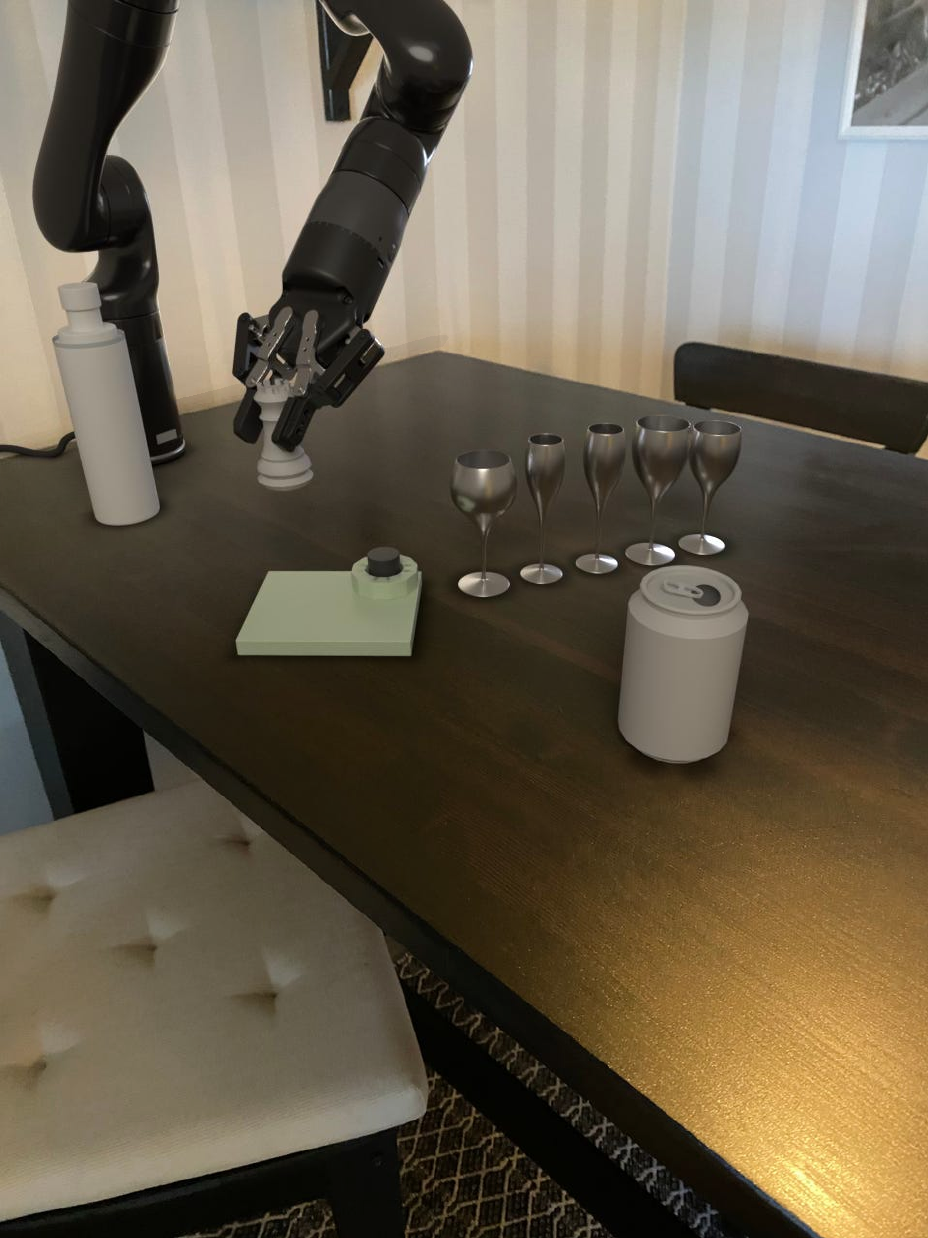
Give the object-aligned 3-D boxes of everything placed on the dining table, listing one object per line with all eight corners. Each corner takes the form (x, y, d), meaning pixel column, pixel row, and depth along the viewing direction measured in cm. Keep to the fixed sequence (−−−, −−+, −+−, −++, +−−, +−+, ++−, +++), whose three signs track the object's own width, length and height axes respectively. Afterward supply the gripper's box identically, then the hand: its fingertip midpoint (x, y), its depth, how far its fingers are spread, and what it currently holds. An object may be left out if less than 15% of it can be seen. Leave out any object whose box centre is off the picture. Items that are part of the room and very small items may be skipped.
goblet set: (706, 529, 91) (723, 401, 84) (738, 553, 87) (760, 419, 80) (443, 576, 84) (439, 438, 77) (464, 605, 79) (462, 461, 72)
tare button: (366, 579, 78) (365, 561, 77) (370, 564, 80) (369, 546, 79) (399, 579, 78) (398, 561, 77) (402, 564, 80) (401, 546, 79)
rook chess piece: (267, 496, 70) (253, 395, 66) (251, 478, 73) (236, 380, 69) (322, 485, 72) (311, 386, 68) (303, 467, 75) (292, 372, 71)
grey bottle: (166, 499, 100) (119, 260, 87) (151, 524, 94) (99, 273, 82) (105, 501, 100) (49, 262, 87) (87, 527, 94) (23, 274, 81)
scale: (237, 655, 72) (232, 623, 71) (271, 582, 83) (266, 553, 81) (411, 656, 72) (409, 624, 70) (422, 582, 83) (421, 553, 81)
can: (729, 777, 59) (757, 620, 53) (613, 764, 60) (627, 608, 54) (724, 710, 65) (748, 562, 59) (619, 699, 66) (632, 553, 60)
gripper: (253, 213, 72) (164, 405, 69) (397, 222, 65) (306, 435, 63) (303, 272, 78) (225, 450, 76) (440, 286, 72) (359, 481, 69)
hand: (262, 442), depth 69 cm, fingers closed on rook chess piece, 3 cm apart
